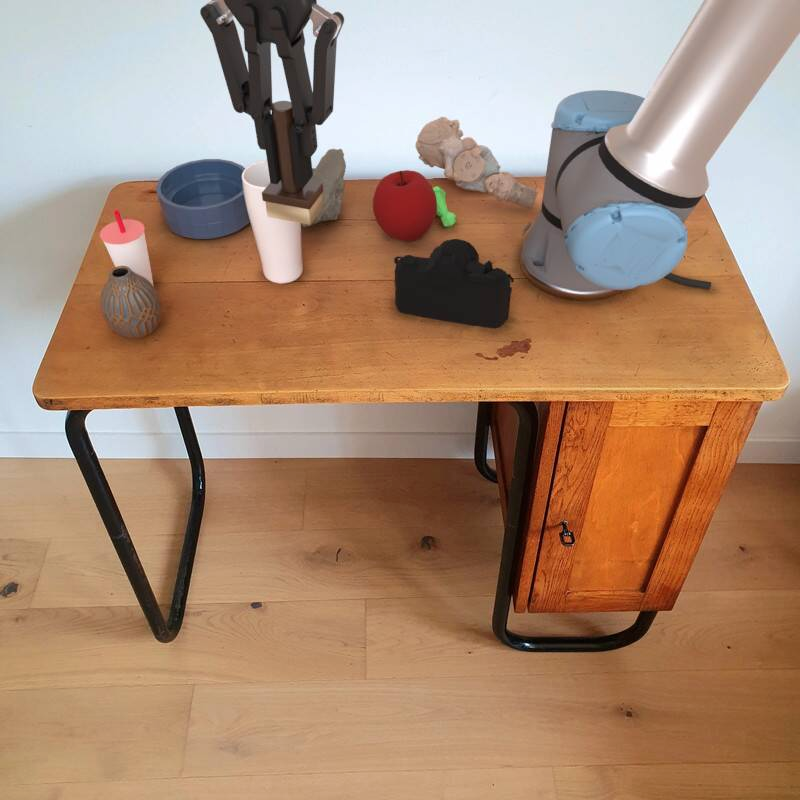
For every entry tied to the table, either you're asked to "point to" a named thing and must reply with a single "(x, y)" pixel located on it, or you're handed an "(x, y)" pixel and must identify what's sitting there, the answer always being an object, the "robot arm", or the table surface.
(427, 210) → the apple
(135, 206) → the table surface
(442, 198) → the game piece
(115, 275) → the vase
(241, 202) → the bowl
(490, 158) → the figurine
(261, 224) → the drinking glass
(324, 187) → the grey rock
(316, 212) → the brush
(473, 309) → the film camera
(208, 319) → the table surface
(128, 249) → the cup
